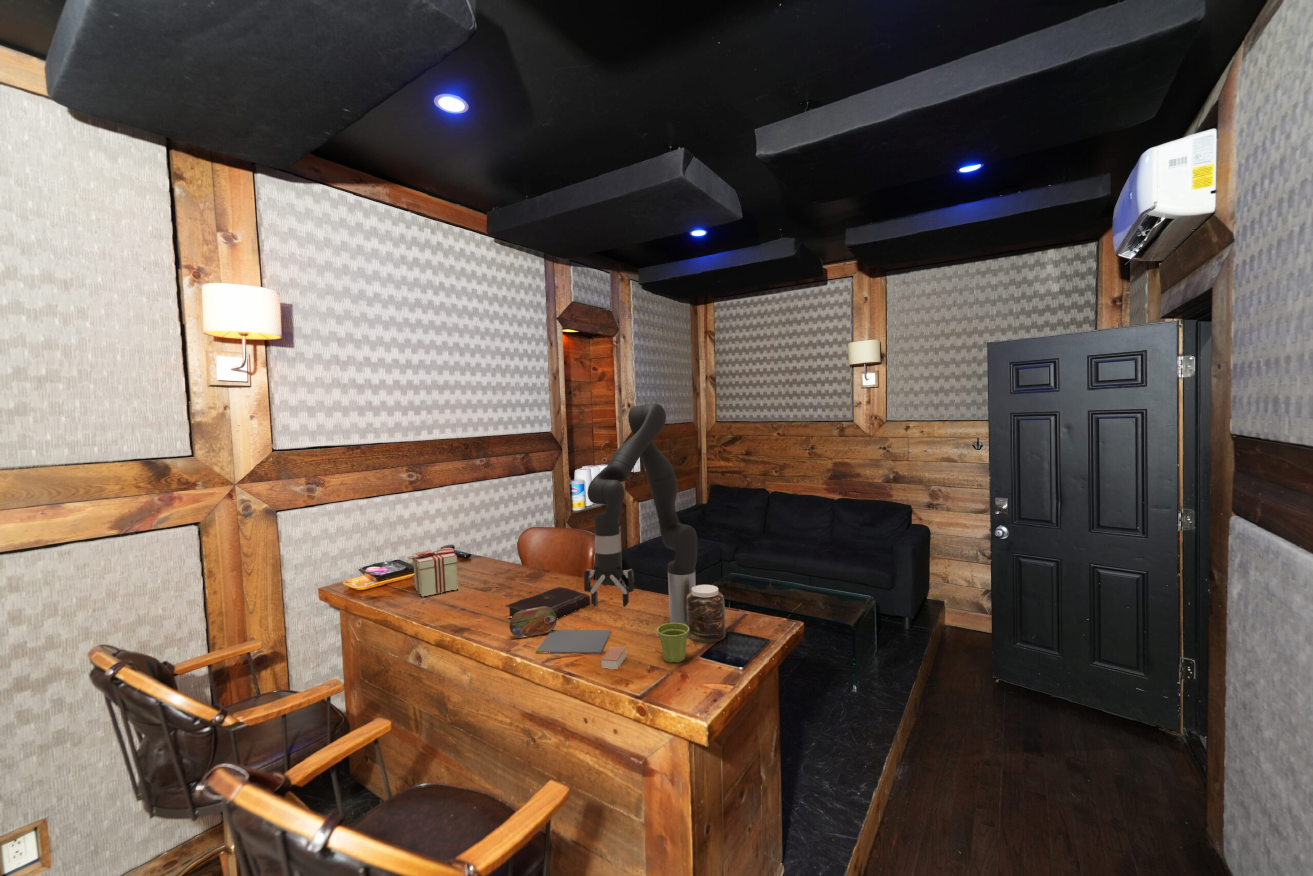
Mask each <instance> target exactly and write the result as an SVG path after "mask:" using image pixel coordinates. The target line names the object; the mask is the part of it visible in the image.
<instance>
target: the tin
mask: <svg viewBox="0 0 1313 876" xmlns="http://www.w3.org/2000/svg"><path fill="white" fill-rule="evenodd" d="M509 620H510V621H509V625H508V626H509V627H508V628H509V631H510V633H511V634H512V635H513V637H515V638H518V639H522V638H521V637H523V636H530V637H534V635H535V636H540V635H545V634H549V633H550V632H551V630H554V629H555V627H556V625H557V621H558V619H557V616H556V614H555V612H554V611H553V610H552V609H551V608H550V607H547V606H542V607H537V608H532V609H527V610H522V611H519V612H517V613H515V614H514V615H513V616H512V618H511V619H509Z"/></svg>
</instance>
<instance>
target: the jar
mask: <svg viewBox="0 0 1313 876" xmlns="http://www.w3.org/2000/svg"><path fill="white" fill-rule="evenodd" d="M691 590H692V592H691V593H689V594H688V595H687V626H688V627H689V632H688V635H687V638H689V639H690V640H692V641H694V642H697V643H705V644H709V643H716V642H720V641H722V640H724V639H725V638H726V634H727V633H726V610H725V609H726V607H725V606H726V605H725V598H724V595H723V593H722V592H720V591H719V588H718V586H716V585H713V584H698V585H696V586H694V587H692V589H691Z"/></svg>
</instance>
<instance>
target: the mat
mask: <svg viewBox="0 0 1313 876" xmlns="http://www.w3.org/2000/svg"><path fill="white" fill-rule="evenodd" d="M610 633H611V634H612V629H553V630H551V631H550V632H548V633H547V636H546V637H545V638H544V639H543V641H542V642H541V643H540V645H539V646H538V647H537V649H536V650H535V653H536V652H548V653H549V652H550V653H590V654H589V655H601V654H602V652H603V650H604V649H605V647H606V645H605V644H607V642H608V641H609V637H610V636H611V634H610ZM609 635H610V636H609ZM604 646H605V647H604ZM603 648H604V649H603ZM548 653H547V654H548ZM592 653H593V654H592Z"/></svg>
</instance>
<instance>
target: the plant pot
mask: <svg viewBox="0 0 1313 876" xmlns="http://www.w3.org/2000/svg"><path fill="white" fill-rule="evenodd" d="M656 632H657V635H658V637H659V639H660V644H661V649H662V650H661V651H662V657H663V660H664V661H665V662H667V663H671V664H672V663H681V662H682V661H684V660H685V659H686V651H687V638H688V632H689V627H688V626H687V625H685V624H682V623H670V622H667V623H663V624H661V625H659V626H658V627H657V628H656Z"/></svg>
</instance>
